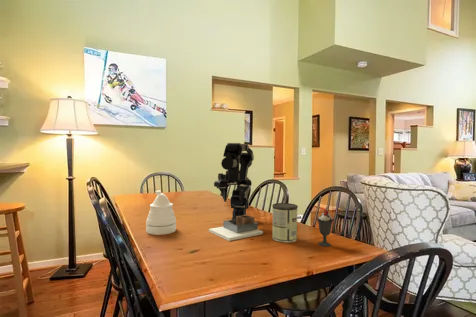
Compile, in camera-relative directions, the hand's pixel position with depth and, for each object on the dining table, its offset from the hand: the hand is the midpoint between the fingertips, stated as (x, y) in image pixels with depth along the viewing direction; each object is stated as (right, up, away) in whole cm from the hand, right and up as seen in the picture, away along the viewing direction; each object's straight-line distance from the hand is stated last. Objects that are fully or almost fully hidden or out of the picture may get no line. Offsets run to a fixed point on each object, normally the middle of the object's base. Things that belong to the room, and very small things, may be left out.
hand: (233, 200), depth 135 cm
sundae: (+36, -13, -26) cm, 47 cm away
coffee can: (+22, -13, -20) cm, 32 cm away
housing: (+3, -11, -10) cm, 15 cm away
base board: (+1, -12, -12) cm, 17 cm away
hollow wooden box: (+6, -11, -8) cm, 15 cm away
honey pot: (-32, -12, -10) cm, 36 cm away
